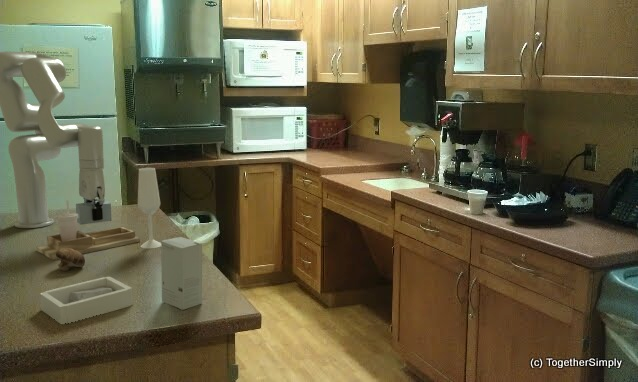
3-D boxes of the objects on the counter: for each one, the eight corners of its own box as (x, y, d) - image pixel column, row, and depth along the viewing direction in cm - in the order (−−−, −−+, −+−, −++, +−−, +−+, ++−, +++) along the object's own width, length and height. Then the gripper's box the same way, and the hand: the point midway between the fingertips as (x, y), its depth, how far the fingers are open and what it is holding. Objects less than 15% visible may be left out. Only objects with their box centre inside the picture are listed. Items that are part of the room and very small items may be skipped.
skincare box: (161, 302, 143) (157, 240, 140) (182, 295, 147) (179, 235, 144) (183, 311, 137) (180, 247, 134) (205, 303, 142) (202, 241, 139)
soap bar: (109, 311, 147) (112, 287, 148) (117, 311, 142) (121, 287, 143) (66, 308, 141) (70, 283, 142) (74, 308, 136) (78, 282, 137)
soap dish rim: (40, 309, 139) (39, 292, 138) (109, 291, 150) (108, 275, 149) (62, 325, 130) (60, 307, 129) (133, 305, 141) (132, 288, 140)
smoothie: (72, 249, 181) (68, 203, 179) (53, 248, 183) (49, 202, 180) (85, 243, 188) (81, 199, 185) (66, 242, 189) (62, 198, 186)
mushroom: (50, 264, 161) (61, 242, 163) (49, 267, 168) (59, 246, 170) (79, 275, 164) (90, 253, 166) (77, 278, 171) (87, 257, 173)
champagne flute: (151, 241, 194) (146, 166, 190) (167, 244, 191) (163, 168, 186) (135, 246, 188) (130, 169, 184) (152, 249, 185) (147, 171, 181)
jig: (36, 250, 185) (35, 237, 184) (120, 234, 203) (119, 221, 202) (53, 259, 176) (52, 245, 175) (139, 241, 194) (139, 228, 193)
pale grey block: (76, 221, 202) (75, 203, 201) (107, 217, 208) (106, 200, 206) (80, 224, 198) (79, 206, 197) (111, 220, 204) (110, 203, 203)
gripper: (69, 161, 202) (72, 214, 206) (91, 169, 190) (94, 225, 194) (91, 159, 207) (93, 211, 211) (114, 166, 196) (116, 221, 199)
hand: (94, 217), depth 203 cm, fingers closed on pale grey block, 4 cm apart
